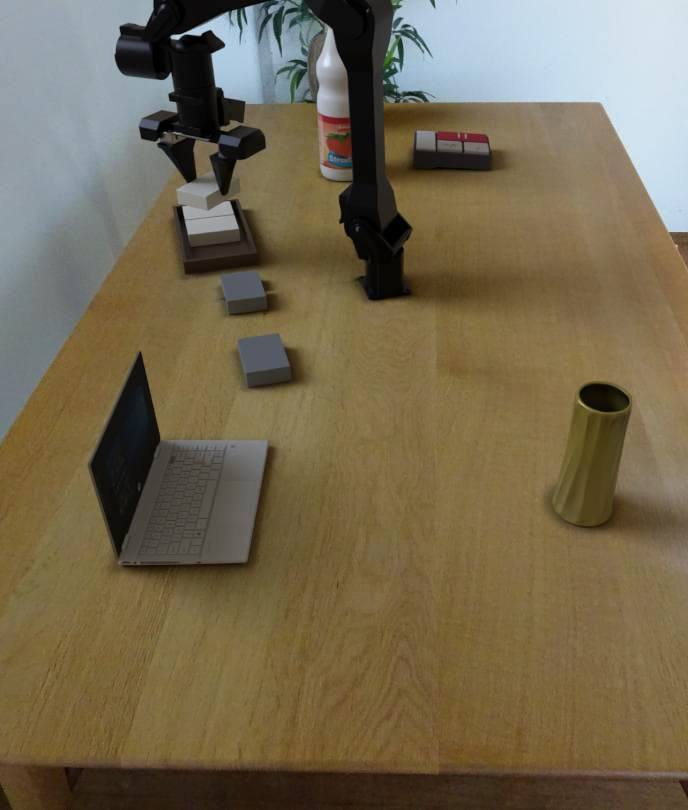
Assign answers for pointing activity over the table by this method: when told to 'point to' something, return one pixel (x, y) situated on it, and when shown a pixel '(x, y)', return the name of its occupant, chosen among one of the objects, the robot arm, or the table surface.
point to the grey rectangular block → (243, 292)
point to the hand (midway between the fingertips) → (209, 191)
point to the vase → (593, 453)
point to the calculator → (451, 150)
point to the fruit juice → (333, 114)
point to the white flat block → (205, 192)
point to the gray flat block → (264, 360)
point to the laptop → (172, 486)
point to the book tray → (217, 246)
